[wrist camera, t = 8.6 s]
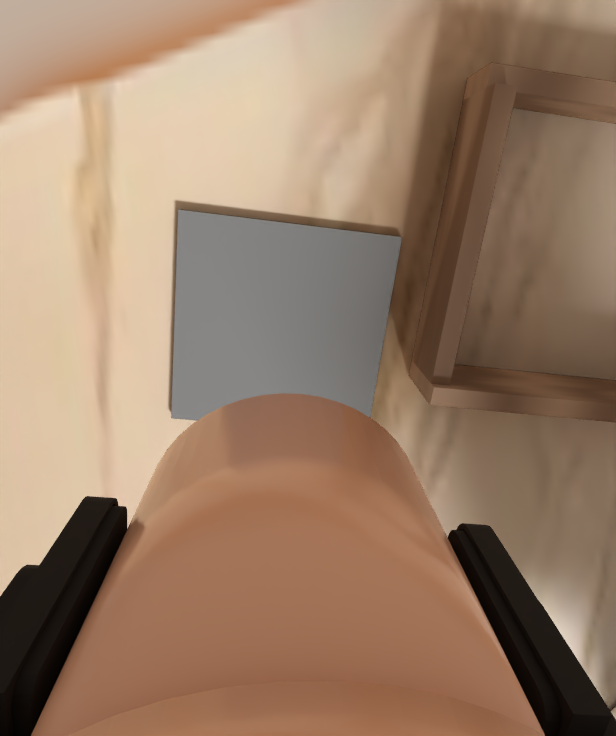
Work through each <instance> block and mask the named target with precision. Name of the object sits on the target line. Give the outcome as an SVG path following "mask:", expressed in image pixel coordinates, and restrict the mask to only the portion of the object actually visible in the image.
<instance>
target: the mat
mask: <svg viewBox="0 0 616 736" xmlns="http://www.w3.org/2000/svg"><path fill="white" fill-rule="evenodd" d="M401 240H402V237H399V236H391V235H383V234H374V233H366V232H358V231H350V230H342V229H334V228H326V227H318V226H309V225H301V224H293V223H285V222H277V221H269V220H261V219H253V218H244V217H236V216H228V215H220V214H212V213H204V212H196V211H188V210H178V230H177V260H176V290H175V320H174V350H173V380H172V409H171V418H175V419H186V420H199V419H201V418H202V417H204V416H205V415H207V414H209V413H211V412H213V411H215V410H217V409H219V408H221V407H223V406H225V405H228V404H230V403H233V402H236V401H239V400H242V399H246V398H251V397H255V396H260V395H268V394H280V393H288V394H305V395H312V396H318V397H323V398H326V399H330V400H333V401H337V402H340V403H342V404H345V405H347V406H349V407H352V408H354V409H356V410H358V411H360V412H361V413H363V414H365V415H366V416H368V417H370V416H371V410H372V405H373V399H374V393H375V387H376V382H377V376H378V370H379V365H380V359H381V353H382V348H383V342H384V336H385V331H386V325H387V319H388V314H389V308H390V302H391V297H392V291H393V285H394V279H395V274H396V268H397V262H398V257H399V251H400V245H401Z"/></svg>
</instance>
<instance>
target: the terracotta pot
mask: <svg viewBox="0 0 616 736" xmlns="http://www.w3.org/2000/svg"><path fill="white" fill-rule="evenodd" d="M31 736H545V734H544V732H543V730H542V728H541V726H540V724H539V722H538V720H537V718H536V716H535V714H534V712H533V710H532V708H531V706H530V704H529V702H528V700H527V698H526V696H525V694H524V692H523V690H522V688H521V685H520V683H519V681H518V679H517V677H516V675H515V673H514V671H513V669H512V667H511V665H510V663H509V661H508V659H507V657H506V655H505V653H504V651H503V649H502V647H501V645H500V643H499V641H498V639H497V637H496V635H495V633H494V631H493V629H492V627H491V625H490V623H489V621H488V619H487V617H486V615H485V613H484V611H483V609H482V607H481V605H480V603H479V601H478V599H477V597H476V594H475V592H474V590H473V588H472V586H471V584H470V582H469V580H468V578H467V576H466V574H465V572H464V570H463V568H462V566H461V564H460V562H459V560H458V558H457V556H456V554H455V552H454V550H453V548H452V546H451V544H450V542H449V540H448V538H447V536H446V534H445V532H444V530H443V528H442V526H441V524H440V522H439V520H438V518H437V516H436V514H435V512H434V510H433V508H432V505H431V503H430V501H429V499H428V497H427V495H426V493H425V491H424V489H423V487H422V485H421V483H420V481H419V479H418V477H417V475H416V473H415V471H414V469H413V467H412V465H411V463H410V461H409V459H408V457H407V455H406V454H405V452H404V451H403V449H402V448H401V447H400V445H399V444H398V442H397V441H396V440H395V439H394V438H393V437H392V436H391V435H390V434H389V433H388V432H387V431H386V430H385V429H384V428H383V427H382V426H380V425H379V424H378V423H377V422H375V421H374V420H373V419H371V418H370V417H368V416H366V415H365V414H363V413H361V412H360V411H358V410H356V409H354V408H352V407H349V406H347V405H345V404H342V403H340V402H337V401H333V400H330V399H326V398H323V397H318V396H312V395H305V394H288V393H280V394H268V395H260V396H255V397H251V398H246V399H242V400H239V401H236V402H233V403H230V404H228V405H225V406H223V407H221V408H219V409H217V410H215V411H213V412H211V413H209V414H207V415H205V416H204V417H202V418H201V419H199V420H198V421H196V422H195V423H193V424H192V425H191V426H190V427H188V428H187V429H186V430H185V431H184V432H183V433H182V434H181V435H179V436H178V437H177V439H176V440H175V441H174V442H173V443H172V444H171V446H170V447H169V448H168V449H167V451H166V452H165V454H164V455H163V457H162V458H161V460H160V462H159V463H158V465H157V467H156V469H155V471H154V474H153V476H152V478H151V480H150V482H149V484H148V486H147V489H146V491H145V493H144V495H143V497H142V499H141V501H140V503H139V506H138V508H137V510H136V512H135V514H134V516H133V518H132V521H131V523H130V525H129V527H128V529H127V531H126V533H125V536H124V538H123V540H122V542H121V544H120V546H119V548H118V551H117V553H116V555H115V557H114V559H113V561H112V563H111V565H110V568H109V570H108V572H107V574H106V576H105V578H104V580H103V583H102V585H101V587H100V589H99V591H98V593H97V595H96V598H95V600H94V602H93V604H92V606H91V608H90V610H89V612H88V615H87V617H86V619H85V621H84V623H83V625H82V627H81V630H80V632H79V634H78V636H77V638H76V640H75V642H74V645H73V647H72V649H71V651H70V653H69V655H68V657H67V659H66V662H65V664H64V666H63V668H62V670H61V672H60V674H59V677H58V679H57V681H56V683H55V685H54V687H53V689H52V692H51V694H50V696H49V698H48V700H47V702H46V704H45V707H44V709H43V711H42V713H41V715H40V717H39V719H38V721H37V724H36V726H35V728H34V730H33V732H32V734H31Z"/></svg>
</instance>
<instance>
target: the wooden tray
mask: <svg viewBox="0 0 616 736" xmlns="http://www.w3.org/2000/svg"><path fill="white" fill-rule="evenodd" d="M513 108H516V109H523V110H529V111H536V112H543V113H549V114H556V115H563V116H569V117H576V118H583V119H589V120H596V121H603V122H610V123H616V82H612V81H606V80H600V79H593V78H587V77H581V76H574V75H568V74H562V73H555V72H549V71H543V70H536V69H530V68H524V67H517V66H511V65H505V64H498V63H490V64H489V65H487V66H486V67H484V68H483V69H481V70H480V71H478V72H476V73H475V74H473V75H472V76H470V77H469V78H467V83H466V88H465V93H464V98H463V104H462V109H461V114H460V119H459V124H458V129H457V134H456V139H455V144H454V149H453V154H452V159H451V164H450V169H449V174H448V179H447V184H446V190H445V195H444V200H443V205H442V210H441V215H440V220H439V225H438V230H437V235H436V240H435V245H434V250H433V255H432V260H431V265H430V271H429V276H428V281H427V286H426V291H425V296H424V301H423V306H422V311H421V316H420V321H419V326H418V331H417V336H416V341H415V346H414V351H413V357H412V362H411V367H410V372H409V377H410V378H411V380H412V381H413V382H414V384H415V385H416V386H417V388H418V389H419V391H420V392H421V393H422V395H423V396H424V397H425V399H426V400H427V402H428V403H429V404H430V405H434V406H445V407H456V408H467V409H478V410H489V411H499V412H510V413H521V414H532V415H543V416H554V417H564V418H575V419H586V420H597V421H608V422H616V381H614V380H604V379H594V378H585V377H575V376H565V375H555V374H545V373H535V372H525V371H515V370H505V369H495V368H485V367H475V366H465V365H455V360H456V355H457V351H458V346H459V342H460V338H461V333H462V329H463V324H464V320H465V316H466V311H467V307H468V302H469V298H470V294H471V289H472V285H473V280H474V276H475V272H476V267H477V263H478V259H479V254H480V250H481V245H482V241H483V237H484V232H485V228H486V223H487V219H488V215H489V210H490V206H491V201H492V197H493V193H494V188H495V184H496V179H497V175H498V171H499V166H500V162H501V157H502V153H503V149H504V144H505V140H506V135H507V131H508V127H509V122H510V118H511V113H512V109H513Z"/></svg>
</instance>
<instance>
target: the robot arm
mask: <svg viewBox="0 0 616 736" xmlns="http://www.w3.org/2000/svg"><path fill="white" fill-rule="evenodd" d="M126 531H127V509H126V507H123V506H118V501H117V499H116V498H104V497H90V496H87V497H85V498H84V499H83V500H82V502H81V503H80V505H79V506H78V508H77V509H76V511H75V512H74V514H73V515H72V517H71V518H70V520H69V521H68V523H67V524H66V526H65V527H64V529H63V531H62V532H61V534H60V535H59V537H58V538H57V540H56V541H55V543H54V544H53V546H52V547H51V549H50V550H49V552H48V553H47V555H46V556H45V558H44V559H43V561H42V562H41V564H40V565H26V566H24V567H22V568H21V569H20V571H19V572H18V573H17V574H16V575H15V577H14V578H13V580H12V581H11V582H10V584H9V585H8V587H7V588H6V589H5V591H4V592H3V594H2V595H1V596H0V736H31V734H32V732H33V730H34V728H35V726H36V724H37V721H38V719H39V717H40V715H41V713H42V711H43V709H44V707H45V704H46V702H47V700H48V698H49V696H50V694H51V692H52V689H53V687H54V685H55V683H56V681H57V679H58V677H59V674H60V672H61V670H62V668H63V666H64V664H65V662H66V659H67V657H68V655H69V653H70V651H71V649H72V647H73V645H74V642H75V640H76V638H77V636H78V634H79V632H80V630H81V627H82V625H83V623H84V621H85V619H86V617H87V615H88V612H89V610H90V608H91V606H92V604H93V602H94V600H95V598H96V595H97V593H98V591H99V589H100V587H101V585H102V583H103V580H104V578H105V576H106V574H107V572H108V570H109V568H110V565H111V563H112V561H113V559H114V557H115V555H116V553H117V551H118V548H119V546H120V544H121V542H122V540H123V538H124V536H125V533H126ZM448 540H449V542H450V544H451V546H452V548H453V550H454V552H455V554H456V556H457V558H458V560H459V562H460V564H461V566H462V568H463V570H464V572H465V574H466V576H467V578H468V580H469V582H470V584H471V586H472V588H473V590H474V592H475V594H476V597H477V599H478V601H479V603H480V605H481V607H482V609H483V611H484V613H485V615H486V617H487V619H488V621H489V623H490V625H491V627H492V629H493V631H494V633H495V635H496V637H497V639H498V641H499V643H500V645H501V647H502V649H503V651H504V653H505V655H506V657H507V659H508V661H509V663H510V665H511V667H512V669H513V671H514V673H515V675H516V677H517V679H518V681H519V683H520V685H521V688H522V690H523V692H524V694H525V696H526V698H527V700H528V702H529V704H530V706H531V708H532V710H533V712H534V714H535V716H536V718H537V720H538V722H539V724H540V726H541V728H542V730H543V732H544V734H545V736H616V707H615V708H613V709H612V710H611V711H610V710H609V708H608V707H607V705H606V703H605V702H604V700H603V699H602V697H601V696H600V694H599V693H598V691H597V690H596V688H595V686H594V685H593V683H592V682H591V680H590V679H589V677H588V676H587V674H586V672H585V671H584V669H583V668H582V666H581V665H580V663H579V662H578V660H577V658H576V657H575V655H574V654H573V652H572V651H571V649H570V648H569V646H568V644H567V643H566V641H565V640H564V638H563V637H562V635H561V634H560V632H559V631H558V629H557V627H556V626H555V624H554V623H553V621H552V620H551V618H550V617H549V615H548V613H547V612H546V610H545V609H544V607H543V606H542V604H541V603H540V602H539V601H538V599H537V598H536V596H535V595H534V593H533V592H532V590H531V589H530V587H529V585H528V584H527V582H526V581H525V579H524V578H523V576H522V575H521V573H520V571H519V570H518V568H517V567H516V565H515V564H514V562H513V560H512V559H511V557H510V556H509V554H508V553H507V551H506V550H505V548H504V546H503V545H502V543H501V542H500V540H499V539H498V537H497V536H496V534H495V532H494V531H493V529H492V528H491V527H490V526H488V525H477V524H463V523H462V524H460V525H459V526H458V528H457V530H452V531H451V532H450V533H449V536H448Z"/></svg>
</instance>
